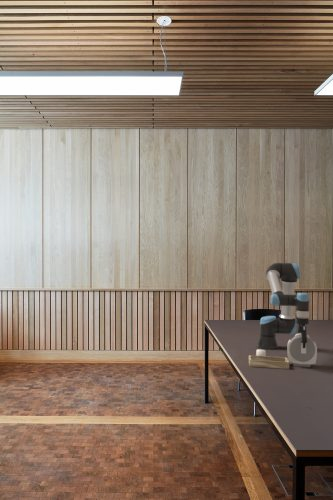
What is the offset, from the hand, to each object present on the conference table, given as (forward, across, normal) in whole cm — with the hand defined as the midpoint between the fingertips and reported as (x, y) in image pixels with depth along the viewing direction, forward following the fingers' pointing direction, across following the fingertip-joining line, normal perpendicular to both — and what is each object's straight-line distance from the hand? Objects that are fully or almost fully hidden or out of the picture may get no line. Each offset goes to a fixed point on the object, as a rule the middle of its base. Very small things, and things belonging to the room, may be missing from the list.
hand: (301, 350), depth 272 cm
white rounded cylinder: (+9, -6, -25) cm, 27 cm away
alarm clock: (+10, 0, 0) cm, 10 cm away
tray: (+9, +4, -21) cm, 23 cm away
